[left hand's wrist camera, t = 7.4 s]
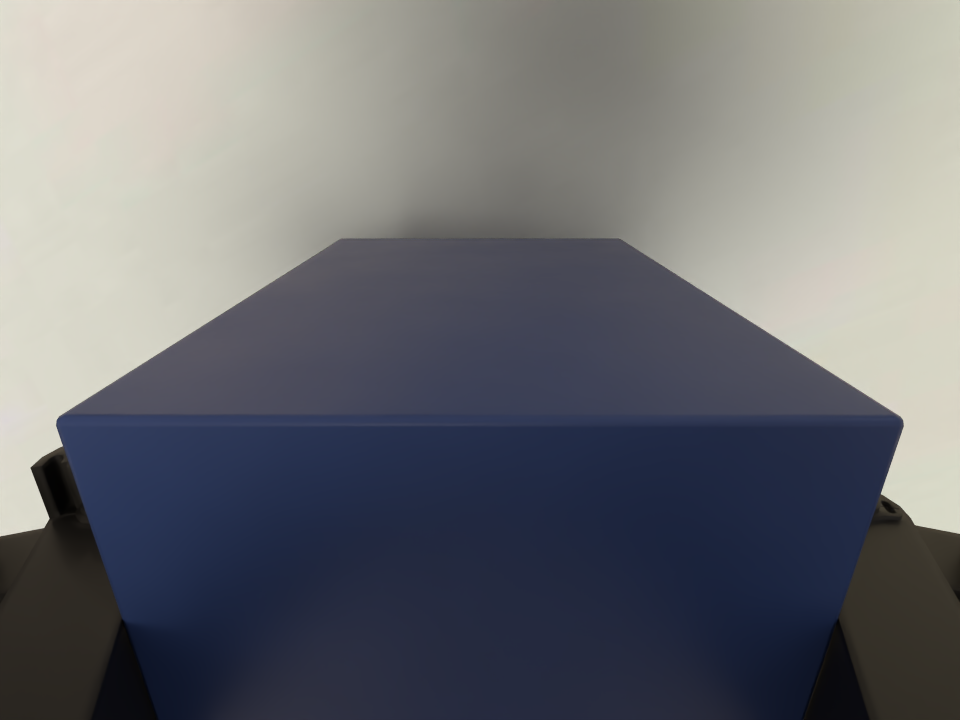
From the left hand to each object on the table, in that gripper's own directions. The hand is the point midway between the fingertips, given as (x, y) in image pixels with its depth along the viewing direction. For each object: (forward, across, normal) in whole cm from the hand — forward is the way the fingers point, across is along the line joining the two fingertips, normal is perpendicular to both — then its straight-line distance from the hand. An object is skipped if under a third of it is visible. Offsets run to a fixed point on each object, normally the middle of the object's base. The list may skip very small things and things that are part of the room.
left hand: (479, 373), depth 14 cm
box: (+1, 0, -11) cm, 11 cm away
